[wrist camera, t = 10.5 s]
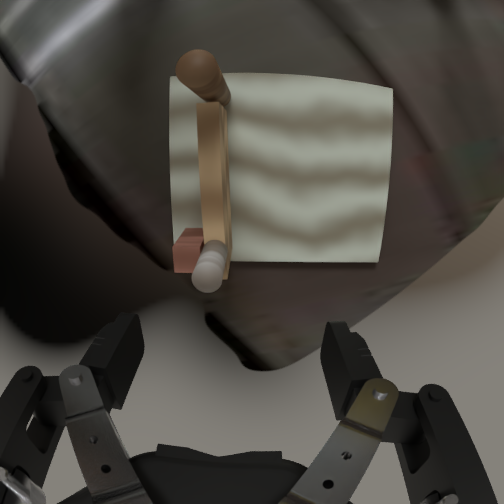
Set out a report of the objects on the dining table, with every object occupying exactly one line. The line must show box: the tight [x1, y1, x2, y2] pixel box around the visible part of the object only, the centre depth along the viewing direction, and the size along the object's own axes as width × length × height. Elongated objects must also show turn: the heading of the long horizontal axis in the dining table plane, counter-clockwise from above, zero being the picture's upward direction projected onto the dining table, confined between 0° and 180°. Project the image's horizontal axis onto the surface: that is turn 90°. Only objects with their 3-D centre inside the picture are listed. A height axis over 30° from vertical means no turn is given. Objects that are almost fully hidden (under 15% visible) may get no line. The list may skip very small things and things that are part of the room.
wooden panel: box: [192, 102, 233, 293], centre depth 28 cm, size 17×2×15 cm, turn 2°
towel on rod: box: [169, 50, 393, 273], centre depth 29 cm, size 24×28×16 cm
